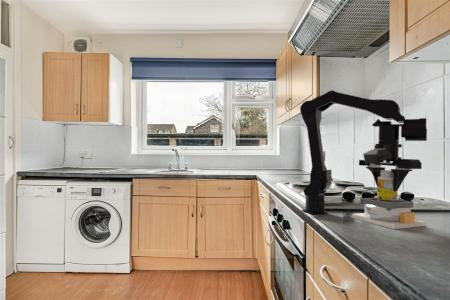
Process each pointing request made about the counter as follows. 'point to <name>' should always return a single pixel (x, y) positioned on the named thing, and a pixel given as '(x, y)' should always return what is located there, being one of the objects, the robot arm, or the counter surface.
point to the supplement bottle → (386, 187)
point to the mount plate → (389, 224)
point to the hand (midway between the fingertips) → (387, 190)
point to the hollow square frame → (388, 210)
